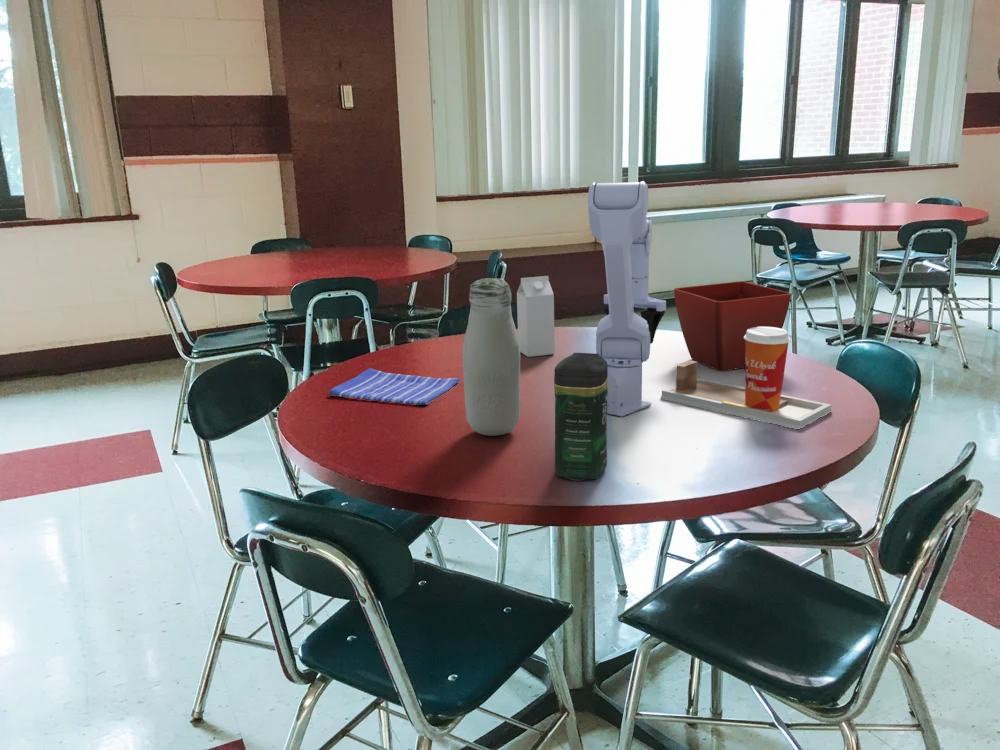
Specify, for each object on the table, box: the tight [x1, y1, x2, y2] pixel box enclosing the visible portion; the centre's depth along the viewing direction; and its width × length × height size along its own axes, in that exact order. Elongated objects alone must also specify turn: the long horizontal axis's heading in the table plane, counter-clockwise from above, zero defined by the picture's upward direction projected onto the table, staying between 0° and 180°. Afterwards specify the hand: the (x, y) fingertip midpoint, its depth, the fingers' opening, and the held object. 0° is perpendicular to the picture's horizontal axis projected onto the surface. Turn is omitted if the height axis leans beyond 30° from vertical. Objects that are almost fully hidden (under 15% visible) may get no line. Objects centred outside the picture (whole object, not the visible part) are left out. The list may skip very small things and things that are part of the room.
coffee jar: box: [553, 352, 608, 482], centre depth 125 cm, size 10×8×19 cm
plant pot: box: [673, 281, 792, 372], centre depth 185 cm, size 19×19×17 cm
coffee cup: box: [744, 327, 791, 412], centre depth 151 cm, size 8×8×15 cm
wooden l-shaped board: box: [669, 360, 788, 412], centre depth 158 cm, size 9×21×6 cm, turn 44°
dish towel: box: [328, 367, 460, 406], centre depth 174 cm, size 17×24×3 cm
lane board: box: [660, 377, 833, 430], centre depth 156 cm, size 13×29×2 cm, turn 44°
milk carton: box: [516, 275, 556, 358], centre depth 199 cm, size 7×7×19 cm
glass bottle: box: [461, 277, 521, 437], centre depth 142 cm, size 10×10×28 cm
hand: (633, 341), depth 170 cm, fingers open, 7 cm apart
